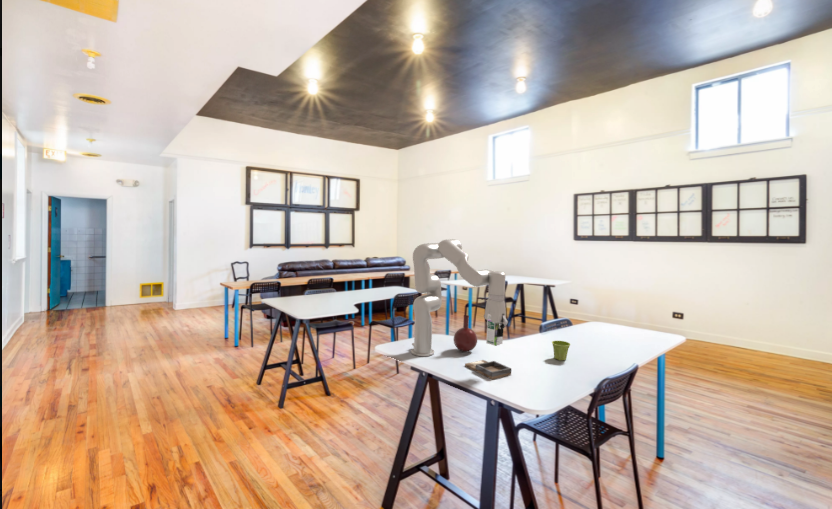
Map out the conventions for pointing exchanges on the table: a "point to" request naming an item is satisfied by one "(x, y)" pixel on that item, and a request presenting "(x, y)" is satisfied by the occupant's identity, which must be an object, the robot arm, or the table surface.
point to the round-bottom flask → (465, 337)
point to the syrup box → (493, 333)
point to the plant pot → (560, 349)
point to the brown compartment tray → (489, 369)
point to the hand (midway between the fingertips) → (494, 334)
